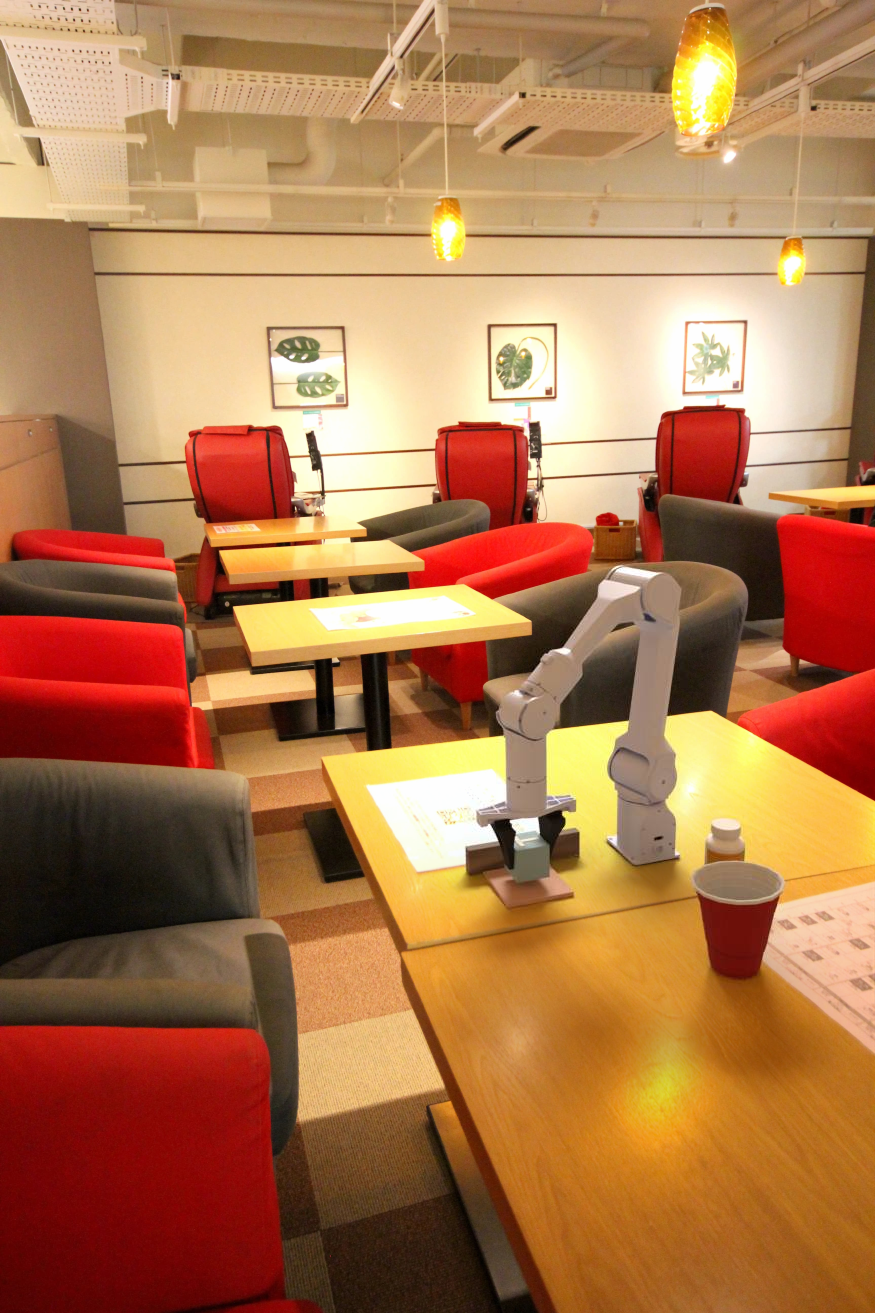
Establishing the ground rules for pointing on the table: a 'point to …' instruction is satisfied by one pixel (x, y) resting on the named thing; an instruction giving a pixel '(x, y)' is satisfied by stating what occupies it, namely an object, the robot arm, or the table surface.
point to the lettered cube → (530, 857)
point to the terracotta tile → (527, 888)
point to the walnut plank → (492, 857)
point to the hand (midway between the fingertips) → (527, 863)
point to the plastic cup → (737, 913)
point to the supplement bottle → (724, 842)
